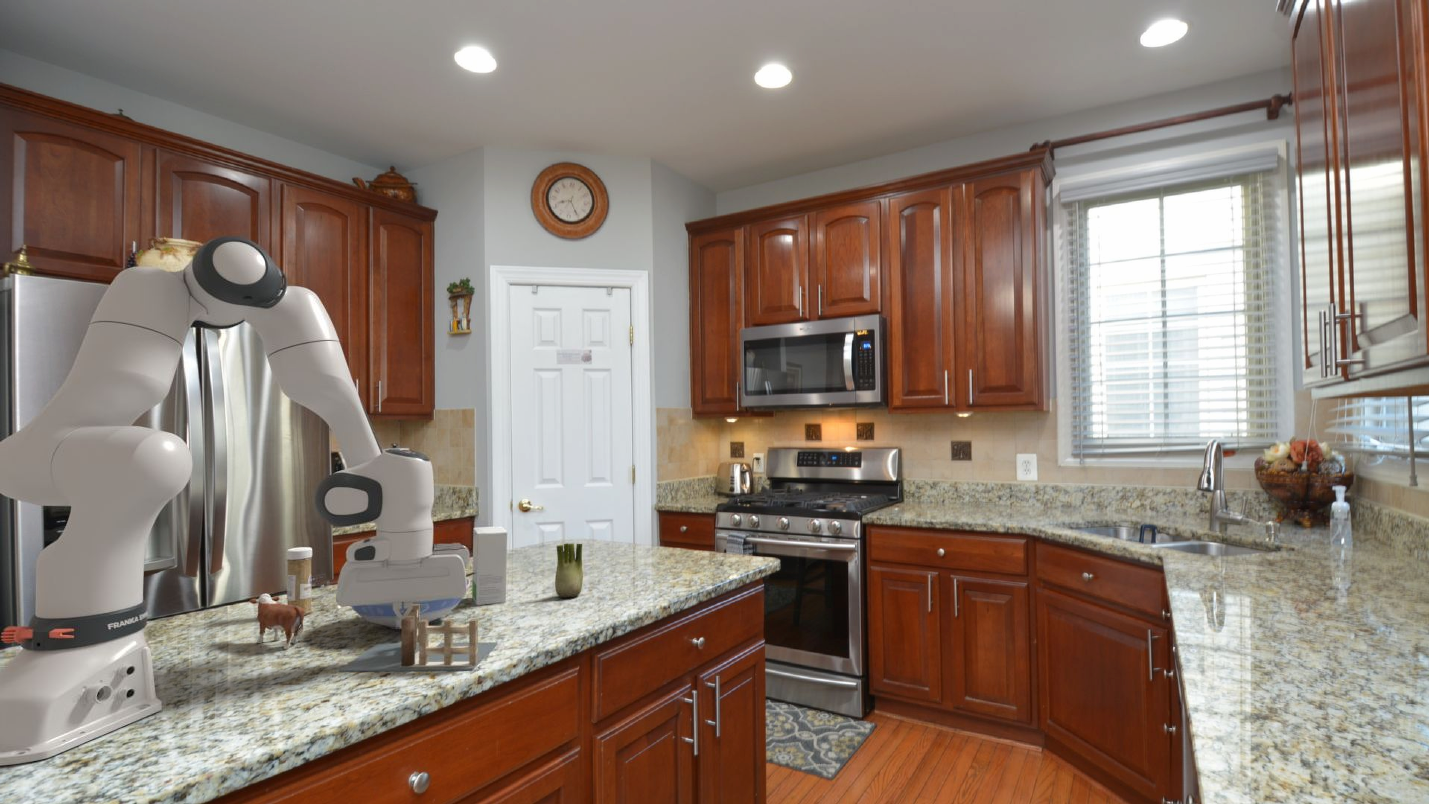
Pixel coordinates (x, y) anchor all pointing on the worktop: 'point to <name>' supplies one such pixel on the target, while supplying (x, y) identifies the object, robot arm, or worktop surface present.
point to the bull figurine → (279, 618)
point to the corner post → (408, 642)
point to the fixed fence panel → (448, 641)
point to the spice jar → (299, 578)
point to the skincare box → (489, 565)
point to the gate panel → (415, 614)
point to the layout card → (390, 659)
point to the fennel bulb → (569, 570)
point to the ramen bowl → (387, 616)
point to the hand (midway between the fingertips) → (402, 627)
